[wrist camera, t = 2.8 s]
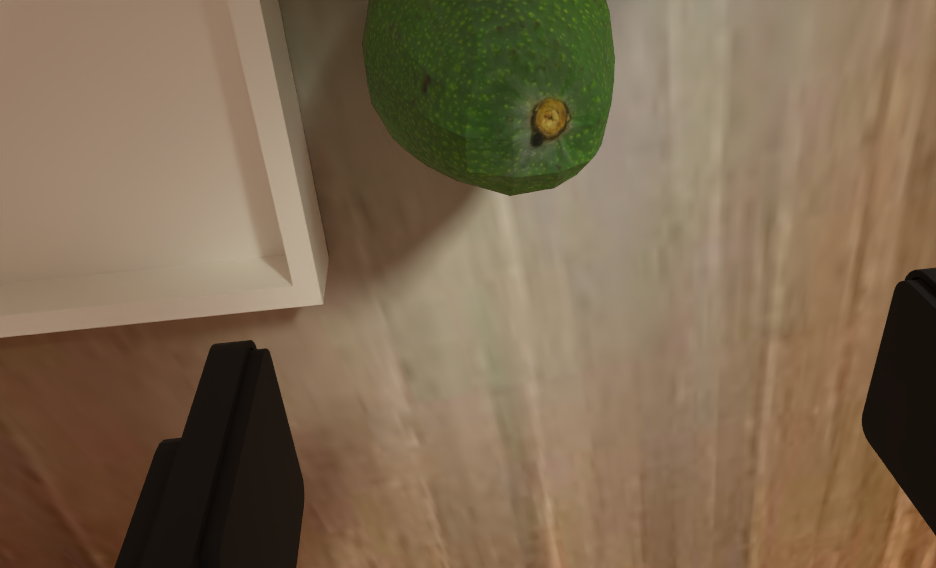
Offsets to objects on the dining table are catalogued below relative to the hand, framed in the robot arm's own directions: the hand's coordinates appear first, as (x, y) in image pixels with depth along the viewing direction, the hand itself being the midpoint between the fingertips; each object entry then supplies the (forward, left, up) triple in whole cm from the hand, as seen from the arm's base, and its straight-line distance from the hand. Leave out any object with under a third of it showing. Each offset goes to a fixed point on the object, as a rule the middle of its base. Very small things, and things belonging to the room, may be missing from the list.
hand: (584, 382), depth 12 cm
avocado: (0, 0, -21) cm, 21 cm away
